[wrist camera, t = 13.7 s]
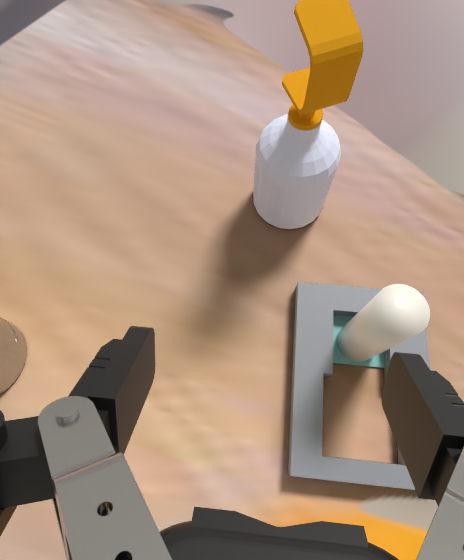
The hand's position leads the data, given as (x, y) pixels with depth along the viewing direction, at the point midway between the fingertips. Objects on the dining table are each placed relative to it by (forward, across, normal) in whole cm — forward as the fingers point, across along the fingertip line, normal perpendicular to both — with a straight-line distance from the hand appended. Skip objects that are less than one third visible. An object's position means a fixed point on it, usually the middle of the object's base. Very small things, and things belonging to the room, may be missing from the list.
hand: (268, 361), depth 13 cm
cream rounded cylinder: (+27, -12, +15) cm, 33 cm away
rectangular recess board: (+24, -12, +18) cm, 32 cm away
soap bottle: (+40, -3, +3) cm, 40 cm away
